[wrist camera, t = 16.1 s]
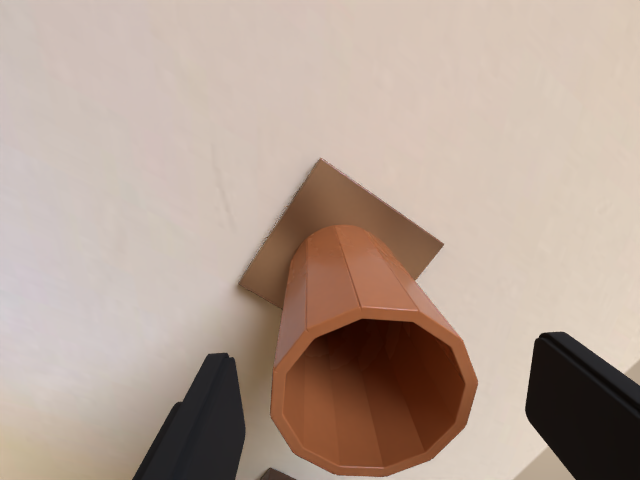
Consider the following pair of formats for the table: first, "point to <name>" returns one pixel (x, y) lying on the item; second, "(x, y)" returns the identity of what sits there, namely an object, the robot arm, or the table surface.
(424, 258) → the cork mat
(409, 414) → the small pot
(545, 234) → the table surface
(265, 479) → the big pot
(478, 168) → the table surface
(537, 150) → the table surface
